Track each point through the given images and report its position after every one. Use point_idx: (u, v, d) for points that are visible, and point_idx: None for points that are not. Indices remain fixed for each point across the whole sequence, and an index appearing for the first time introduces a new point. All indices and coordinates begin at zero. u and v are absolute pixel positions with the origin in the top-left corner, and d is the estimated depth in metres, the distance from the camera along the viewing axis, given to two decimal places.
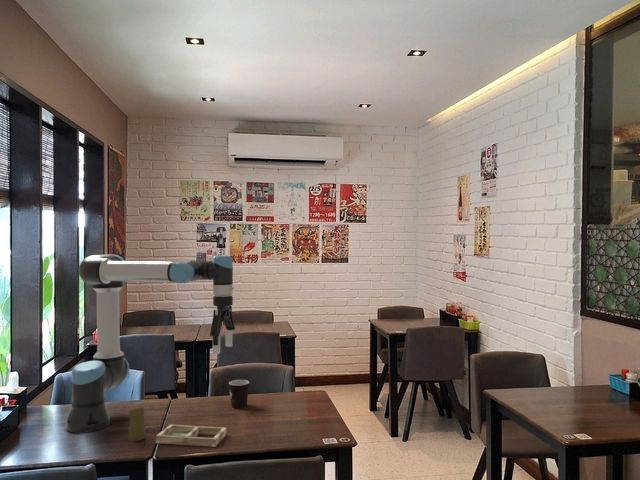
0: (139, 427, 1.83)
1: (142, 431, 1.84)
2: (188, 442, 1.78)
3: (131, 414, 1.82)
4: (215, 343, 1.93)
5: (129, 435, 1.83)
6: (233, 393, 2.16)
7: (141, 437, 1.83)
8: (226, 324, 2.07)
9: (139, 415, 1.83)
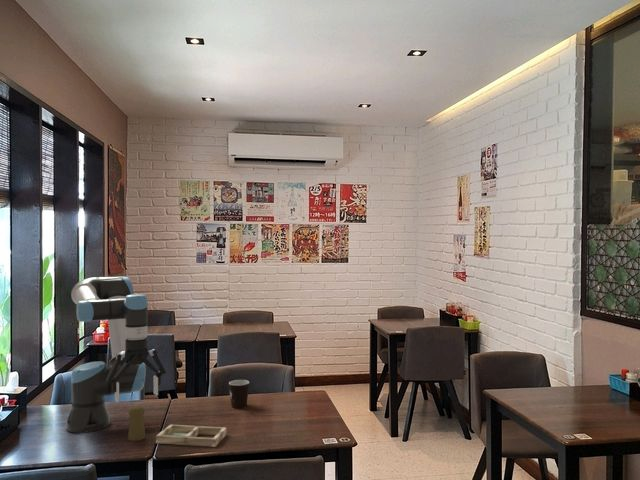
0: (139, 427, 1.83)
1: (142, 431, 1.84)
2: (188, 442, 1.78)
3: (131, 414, 1.82)
4: (112, 390, 1.79)
5: (129, 435, 1.83)
6: (233, 393, 2.16)
7: (141, 437, 1.83)
8: (151, 369, 1.88)
9: (139, 415, 1.83)
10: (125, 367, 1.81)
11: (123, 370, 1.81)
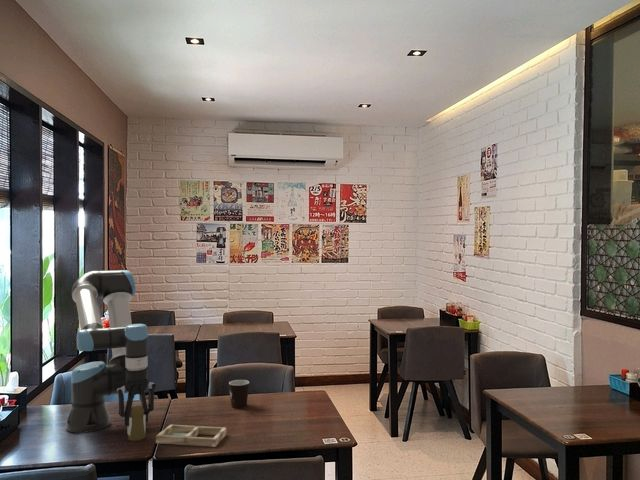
0: (139, 427, 1.83)
1: (142, 431, 1.84)
2: (188, 442, 1.78)
3: (131, 414, 1.82)
4: (125, 424, 1.82)
5: None
6: (233, 393, 2.16)
7: (141, 437, 1.83)
8: (142, 404, 1.87)
9: (139, 415, 1.83)
10: (130, 399, 1.83)
11: (130, 403, 1.82)
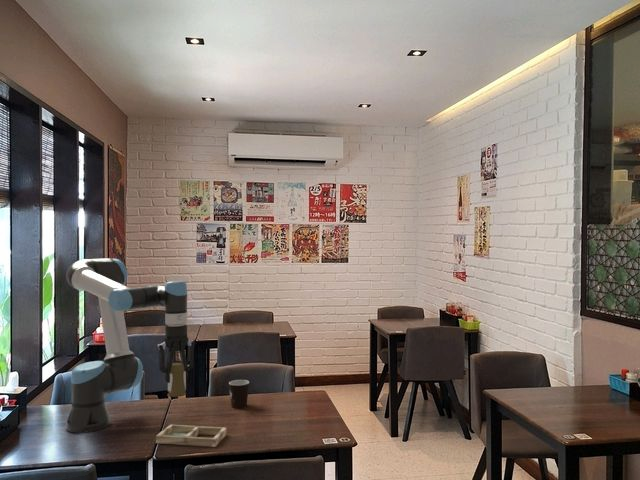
0: (180, 383, 1.82)
1: (183, 388, 1.83)
2: (188, 442, 1.78)
3: (172, 370, 1.82)
4: (166, 380, 1.82)
5: None
6: (233, 393, 2.16)
7: (182, 393, 1.82)
8: (181, 361, 1.86)
9: (180, 371, 1.82)
10: (171, 356, 1.82)
11: (170, 359, 1.82)
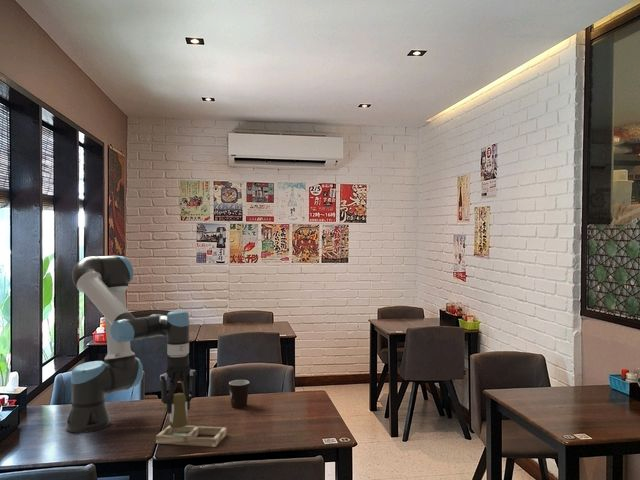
0: (182, 414, 1.82)
1: (184, 418, 1.83)
2: (188, 442, 1.78)
3: (174, 401, 1.82)
4: (167, 411, 1.82)
5: None
6: (233, 393, 2.16)
7: (184, 424, 1.82)
8: (183, 391, 1.86)
9: (182, 402, 1.82)
10: (173, 386, 1.82)
11: (172, 390, 1.82)
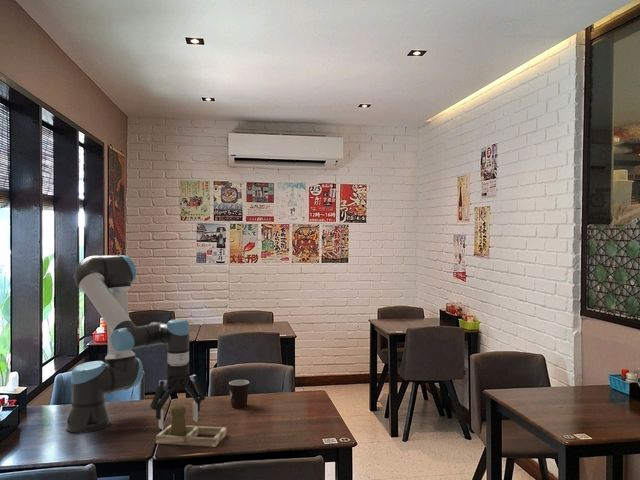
0: (181, 426, 1.82)
1: (184, 431, 1.83)
2: (188, 442, 1.78)
3: (173, 414, 1.82)
4: (156, 417, 1.80)
5: None
6: (233, 393, 2.16)
7: None
8: (191, 395, 1.88)
9: (181, 415, 1.82)
10: (168, 393, 1.81)
11: (166, 397, 1.81)
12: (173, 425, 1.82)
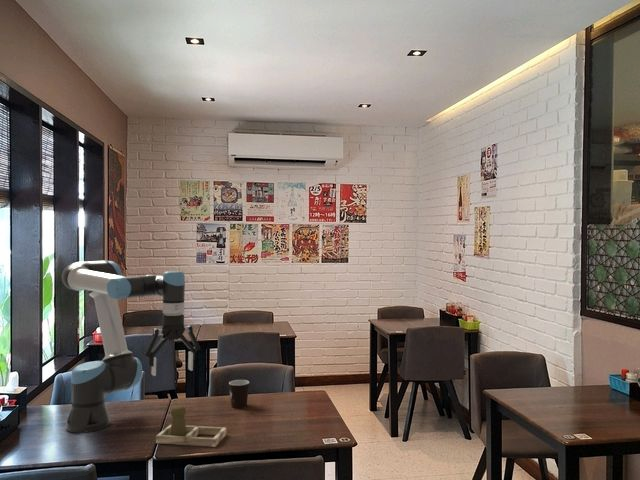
0: (181, 426, 1.82)
1: (184, 431, 1.83)
2: (188, 442, 1.78)
3: (173, 414, 1.82)
4: (149, 364, 1.82)
5: None
6: (233, 393, 2.16)
7: None
8: (186, 345, 1.91)
9: (181, 415, 1.82)
10: (162, 342, 1.84)
11: (160, 345, 1.83)
12: (173, 425, 1.82)
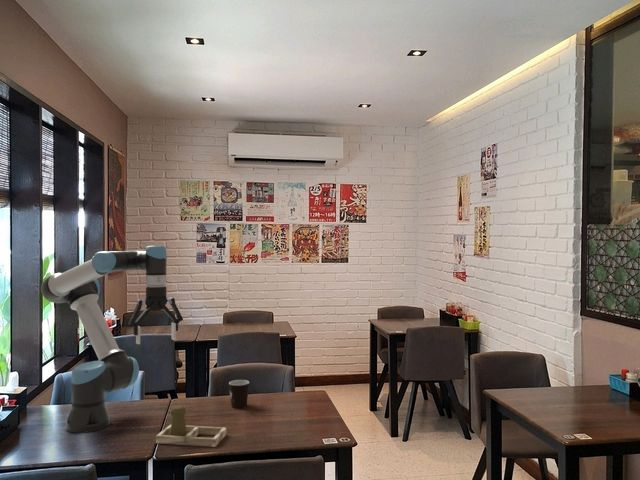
0: (181, 426, 1.82)
1: (184, 431, 1.83)
2: (188, 442, 1.78)
3: (173, 414, 1.82)
4: (134, 333, 1.92)
5: None
6: (233, 393, 2.16)
7: None
8: (169, 316, 2.01)
9: (181, 415, 1.82)
10: (146, 312, 1.94)
11: (144, 315, 1.94)
12: (173, 425, 1.82)
